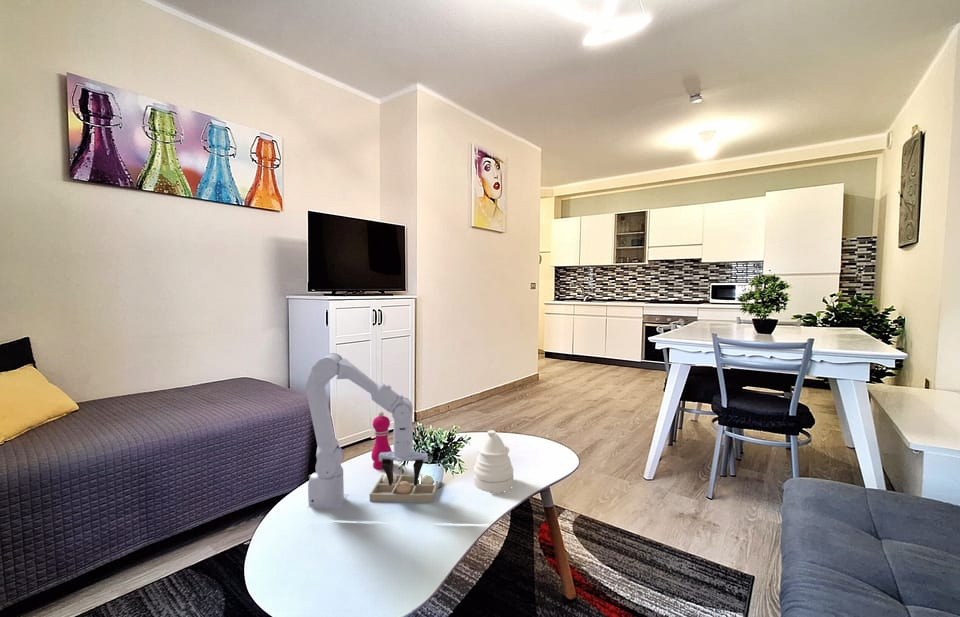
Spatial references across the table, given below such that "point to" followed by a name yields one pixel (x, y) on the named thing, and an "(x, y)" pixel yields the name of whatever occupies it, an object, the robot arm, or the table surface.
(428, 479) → the cream egg right
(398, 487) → the tan orange ball
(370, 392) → the robot arm
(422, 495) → the carton
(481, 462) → the honey pot
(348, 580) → the table surface
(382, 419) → the pepper mill
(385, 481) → the cream egg left
